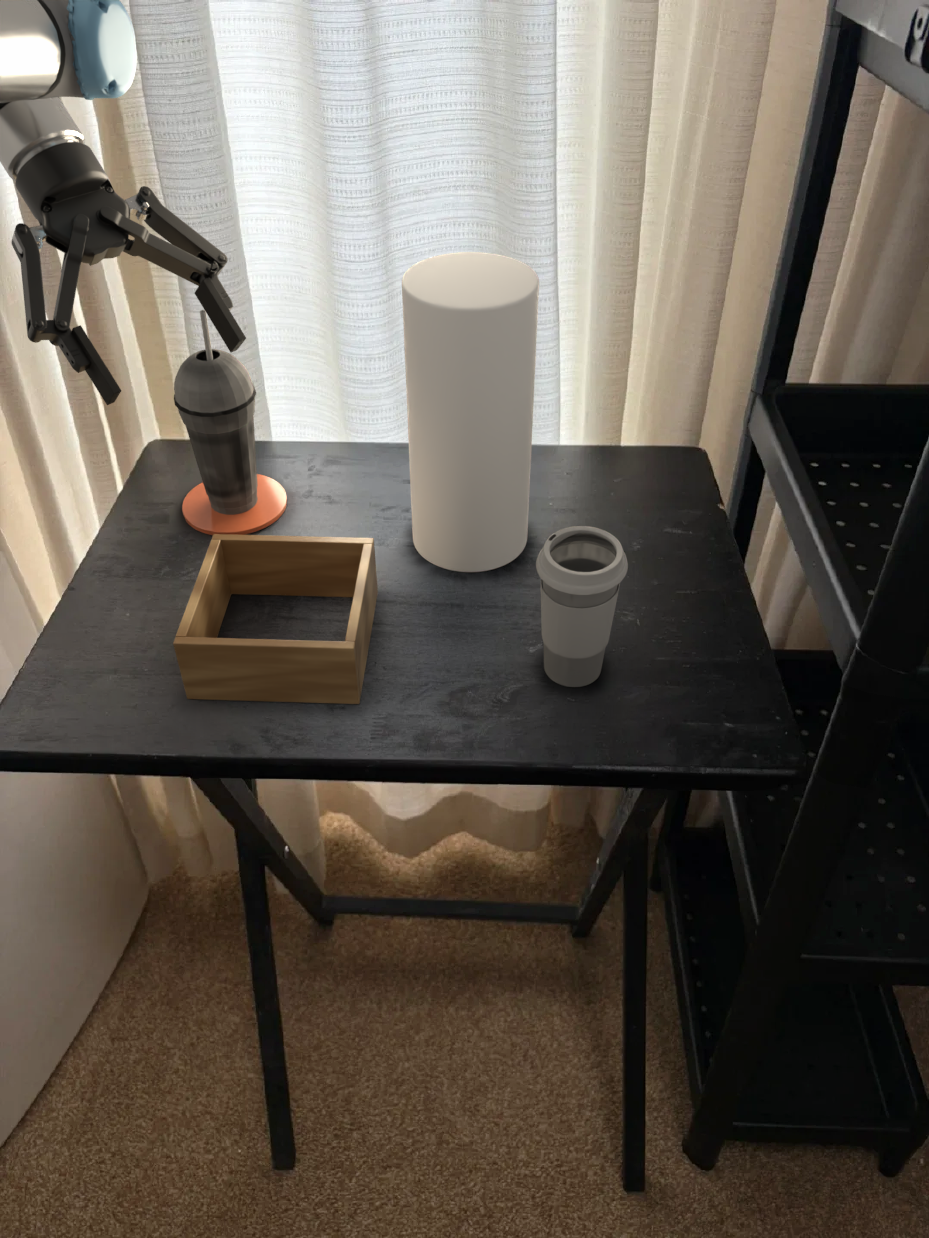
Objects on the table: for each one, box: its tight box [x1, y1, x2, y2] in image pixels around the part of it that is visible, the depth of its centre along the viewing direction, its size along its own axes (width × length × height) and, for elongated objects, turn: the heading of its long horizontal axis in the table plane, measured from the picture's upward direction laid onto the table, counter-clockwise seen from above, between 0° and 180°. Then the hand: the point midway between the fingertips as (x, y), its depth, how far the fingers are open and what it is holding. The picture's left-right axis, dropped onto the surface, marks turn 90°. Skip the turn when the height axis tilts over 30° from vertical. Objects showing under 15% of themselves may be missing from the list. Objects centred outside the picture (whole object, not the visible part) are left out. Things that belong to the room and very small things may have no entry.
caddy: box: [172, 534, 379, 705], centre depth 85 cm, size 14×14×6 cm
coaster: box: [181, 473, 288, 536], centre depth 101 cm, size 10×10×1 cm
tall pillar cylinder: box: [401, 251, 540, 573], centre depth 89 cm, size 11×11×25 cm
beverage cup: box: [173, 309, 258, 515], centre depth 95 cm, size 7×7×20 cm
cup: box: [535, 525, 629, 688], centre depth 81 cm, size 7×7×12 cm
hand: (179, 371), depth 96 cm, fingers open, 13 cm apart
